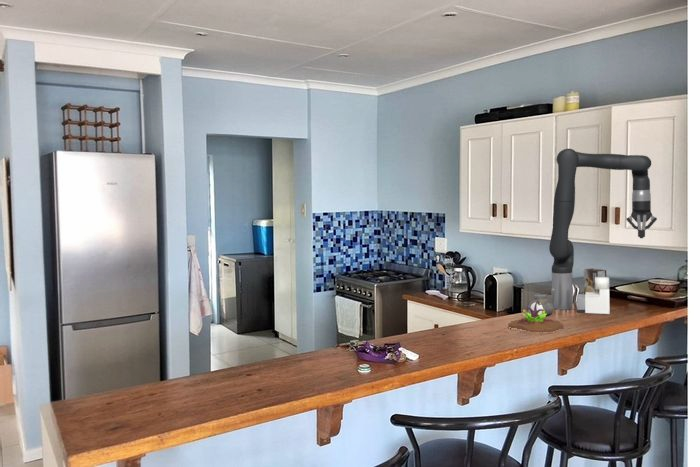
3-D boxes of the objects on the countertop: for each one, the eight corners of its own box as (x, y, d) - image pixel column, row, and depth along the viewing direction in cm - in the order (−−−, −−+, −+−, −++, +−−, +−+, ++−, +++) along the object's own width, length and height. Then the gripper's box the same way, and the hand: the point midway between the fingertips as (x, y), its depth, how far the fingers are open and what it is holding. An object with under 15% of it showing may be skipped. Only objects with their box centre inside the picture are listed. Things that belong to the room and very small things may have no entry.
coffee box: (607, 302, 282) (607, 270, 281) (598, 303, 280) (597, 271, 279) (592, 299, 291) (592, 268, 290) (583, 300, 288) (583, 269, 287)
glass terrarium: (544, 319, 250) (543, 295, 251) (527, 318, 256) (526, 295, 257) (557, 317, 258) (556, 294, 259) (541, 316, 264) (540, 294, 265)
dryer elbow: (585, 312, 259) (584, 278, 258) (586, 309, 267) (585, 275, 266) (609, 314, 255) (609, 279, 254) (609, 310, 263) (609, 276, 262)
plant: (572, 329, 233) (571, 302, 233) (539, 337, 223) (539, 308, 223) (533, 321, 250) (532, 295, 250) (501, 328, 240) (500, 301, 240)
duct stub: (577, 312, 262) (577, 296, 261) (577, 310, 267) (577, 294, 267) (598, 313, 258) (598, 297, 258) (598, 311, 263) (598, 294, 263)
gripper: (625, 200, 258) (625, 239, 259) (658, 199, 253) (658, 238, 254) (624, 200, 265) (625, 237, 266) (657, 199, 260) (657, 237, 261)
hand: (641, 238), depth 260 cm, fingers closed
